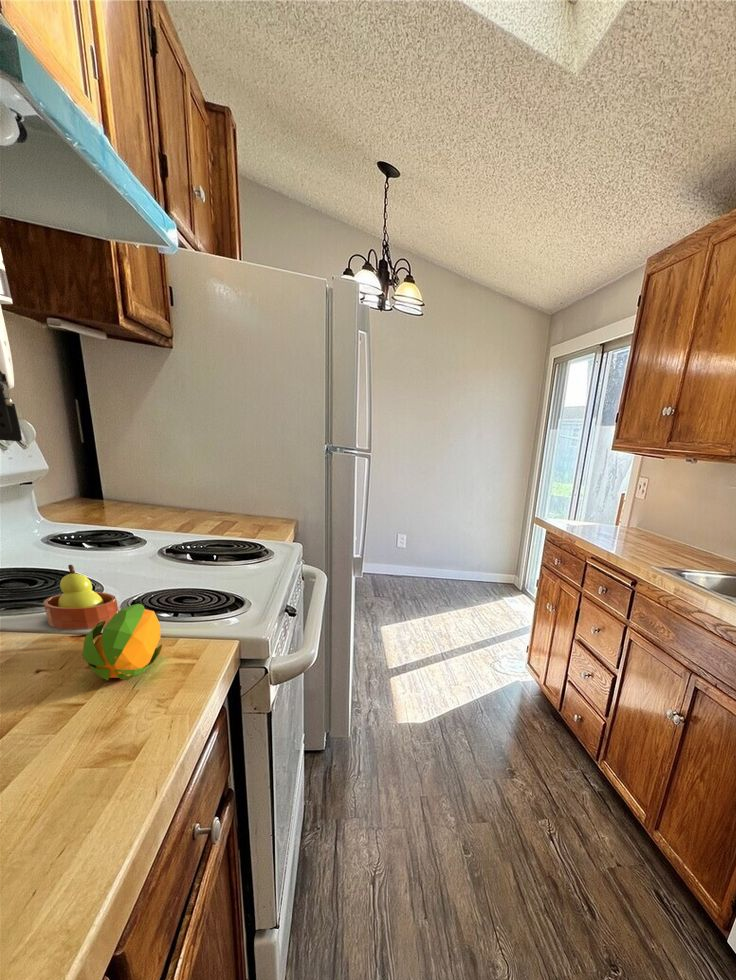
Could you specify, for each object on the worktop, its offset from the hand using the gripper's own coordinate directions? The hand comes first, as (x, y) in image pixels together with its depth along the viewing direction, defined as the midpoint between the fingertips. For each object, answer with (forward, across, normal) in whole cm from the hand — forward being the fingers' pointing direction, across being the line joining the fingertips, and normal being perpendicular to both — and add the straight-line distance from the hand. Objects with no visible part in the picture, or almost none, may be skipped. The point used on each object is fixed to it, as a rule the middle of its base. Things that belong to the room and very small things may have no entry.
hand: (6, 437), depth 74 cm
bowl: (+26, +4, +4) cm, 27 cm away
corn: (+26, +20, +8) cm, 34 cm away
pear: (+26, +4, +4) cm, 26 cm away
